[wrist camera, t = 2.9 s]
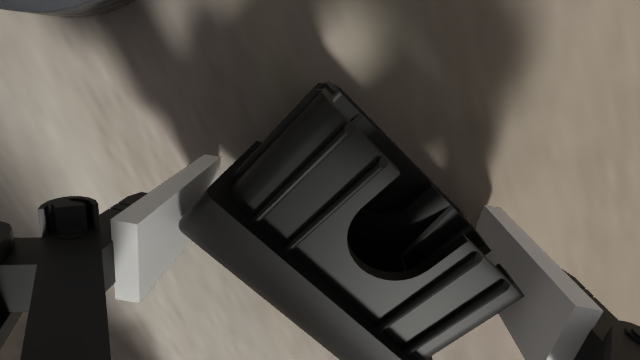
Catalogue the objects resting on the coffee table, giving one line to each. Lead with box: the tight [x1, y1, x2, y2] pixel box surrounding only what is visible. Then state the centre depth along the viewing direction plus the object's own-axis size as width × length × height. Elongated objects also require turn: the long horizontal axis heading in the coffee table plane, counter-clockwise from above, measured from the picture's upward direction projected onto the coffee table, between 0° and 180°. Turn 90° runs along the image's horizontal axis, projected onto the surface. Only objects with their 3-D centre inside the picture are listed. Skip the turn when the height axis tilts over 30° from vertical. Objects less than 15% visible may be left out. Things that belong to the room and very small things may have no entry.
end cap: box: [179, 82, 524, 360], centre depth 13 cm, size 10×7×7 cm
